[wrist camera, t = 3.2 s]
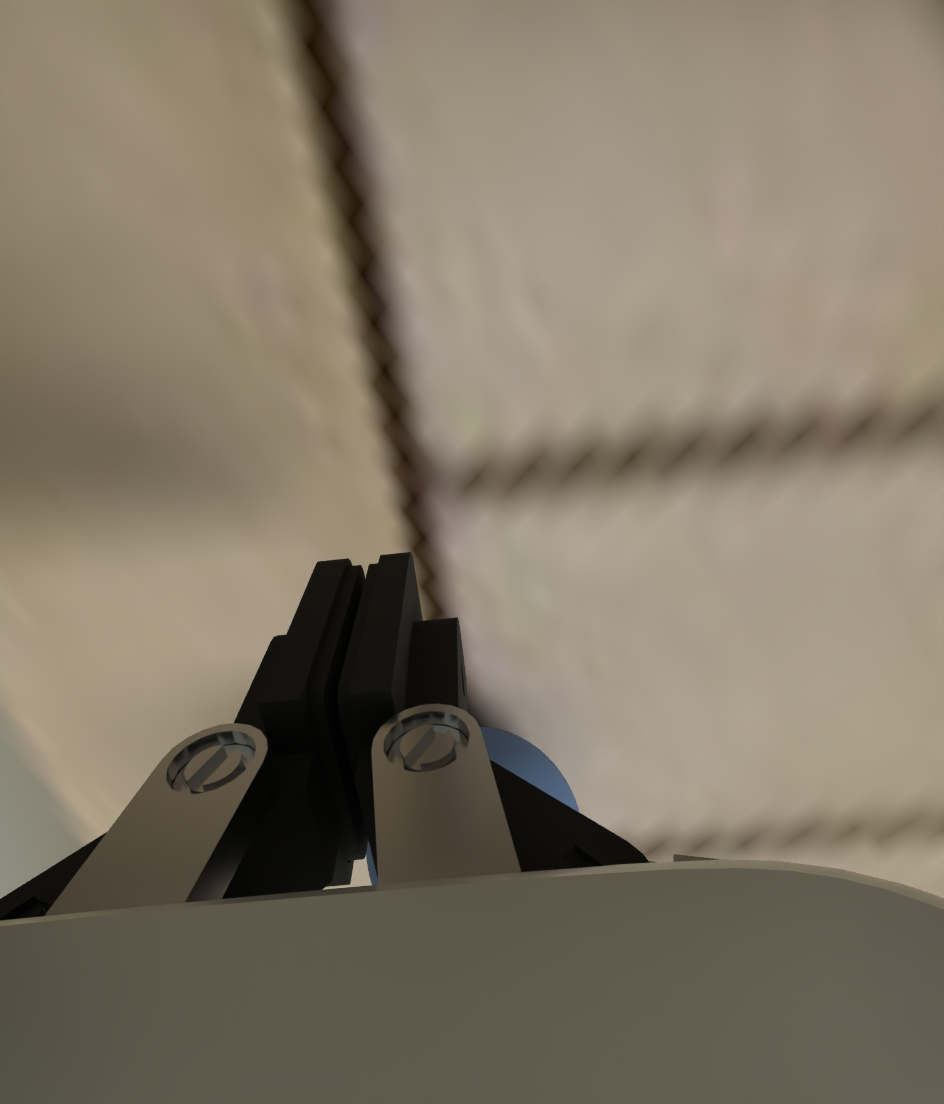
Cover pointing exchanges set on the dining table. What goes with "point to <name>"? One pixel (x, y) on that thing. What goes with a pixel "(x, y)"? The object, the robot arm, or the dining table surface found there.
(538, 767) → the ball
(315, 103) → the dining table surface
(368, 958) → the robot arm
